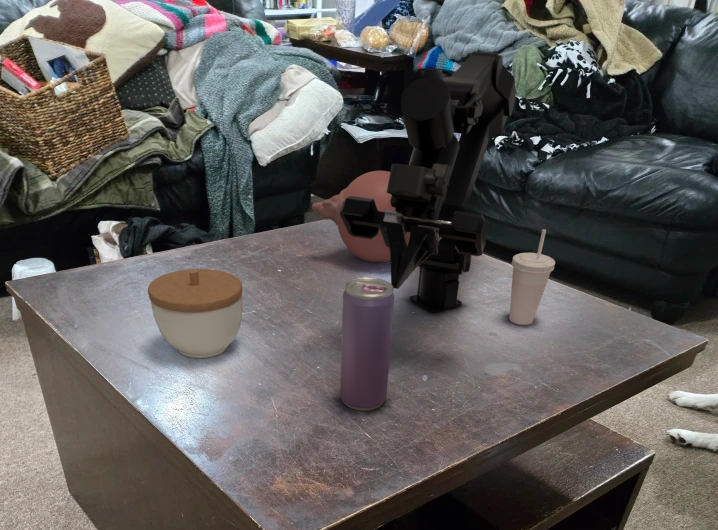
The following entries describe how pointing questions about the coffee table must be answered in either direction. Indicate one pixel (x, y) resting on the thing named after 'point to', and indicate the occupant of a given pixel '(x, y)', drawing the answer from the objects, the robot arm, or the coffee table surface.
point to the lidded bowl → (197, 310)
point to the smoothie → (529, 283)
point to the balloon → (376, 188)
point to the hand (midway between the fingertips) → (394, 287)
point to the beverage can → (366, 342)
